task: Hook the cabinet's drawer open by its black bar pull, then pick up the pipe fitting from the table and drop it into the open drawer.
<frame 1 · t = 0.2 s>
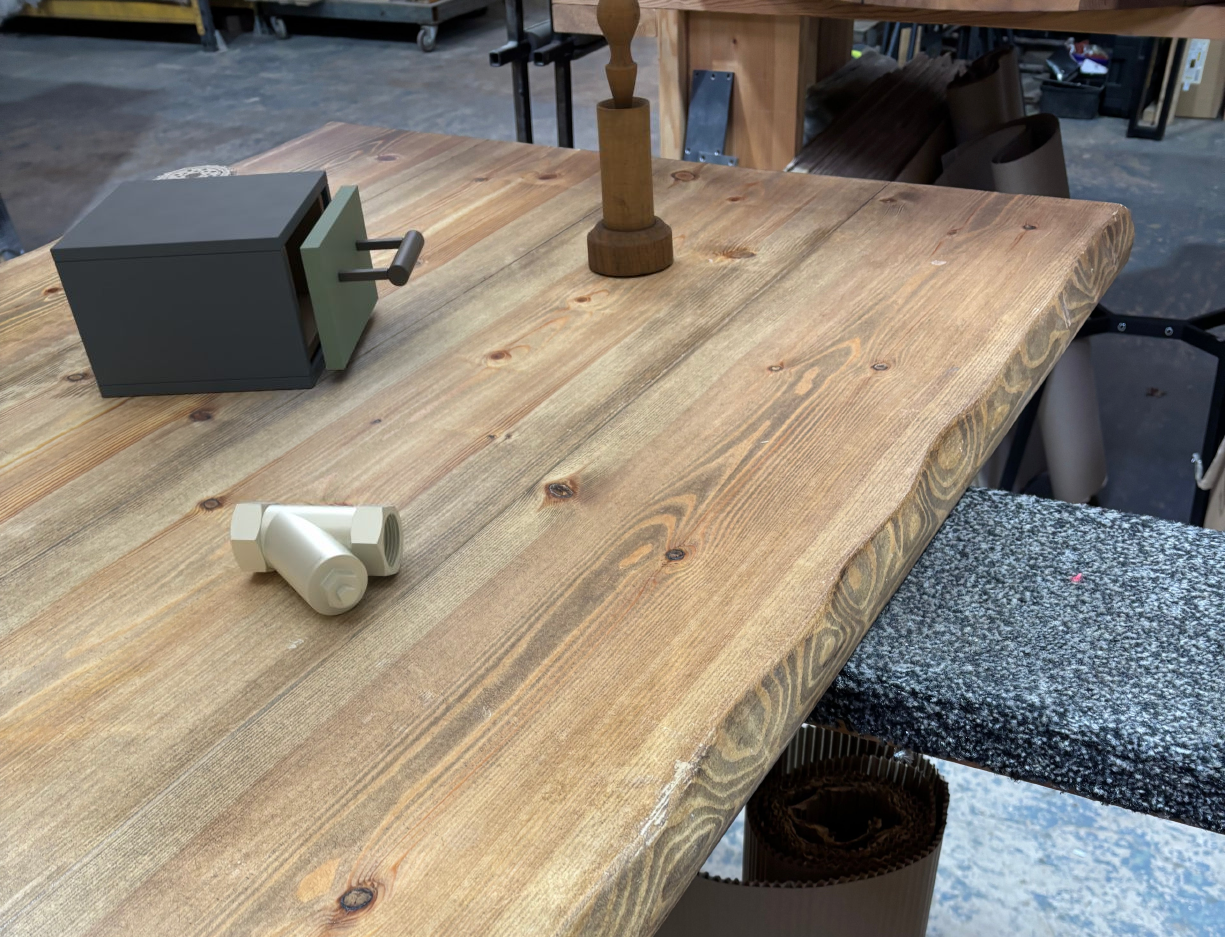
pipe fitting: (317, 591, 63), on the table
cabinet: (234, 350, 88), on the table
drawer: (288, 278, 84), point 5 cm above the table, slide at 1.0 cm
mechanical component: (208, 231, 109), on the table
mortar and pestle: (631, 265, 96), on the table
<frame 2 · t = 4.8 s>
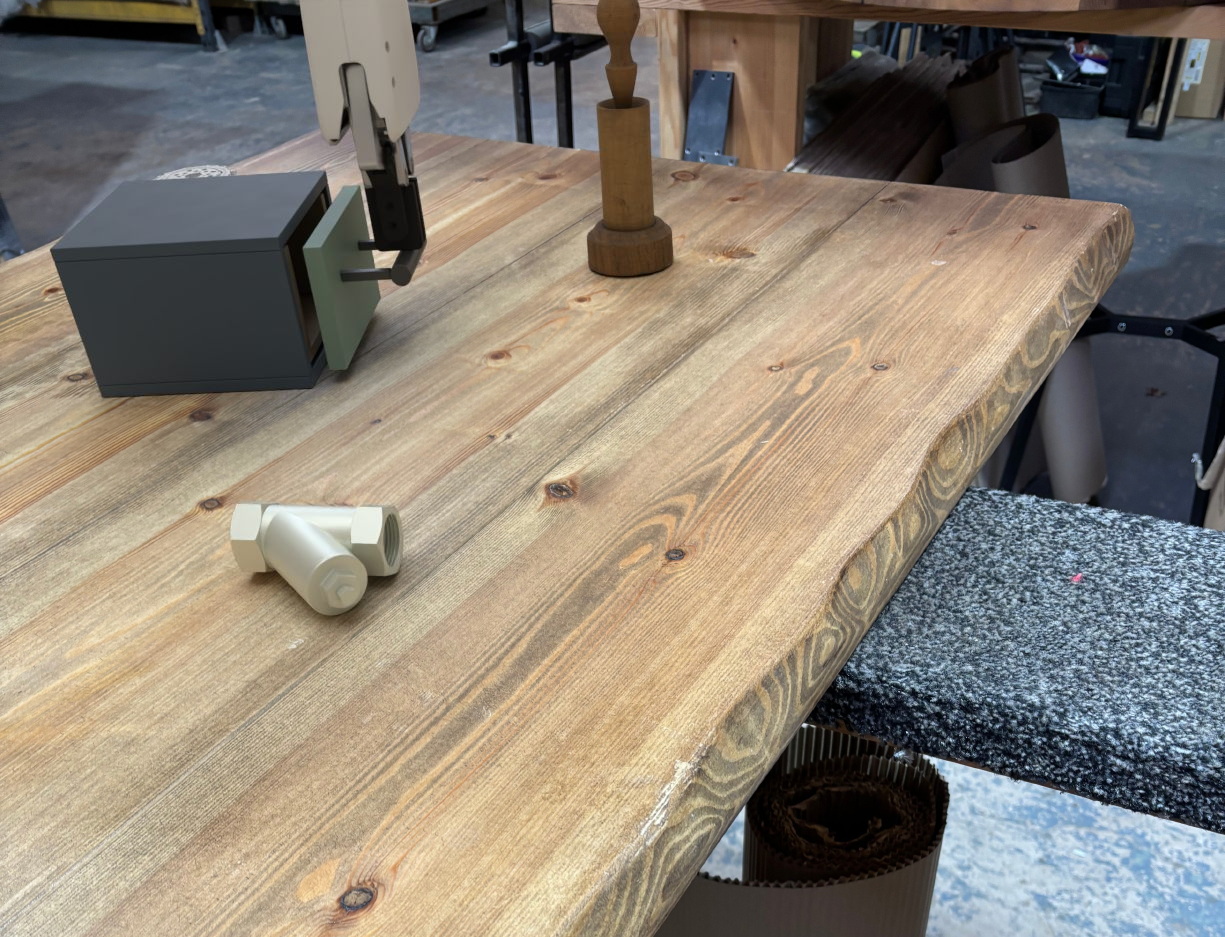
hand: (401, 245, 82), 7 cm above the table, tool pointing down, fingers closed
drawer: (290, 278, 84), point 5 cm above the table, slide at 1.2 cm, touching gripper
everything else where it was.
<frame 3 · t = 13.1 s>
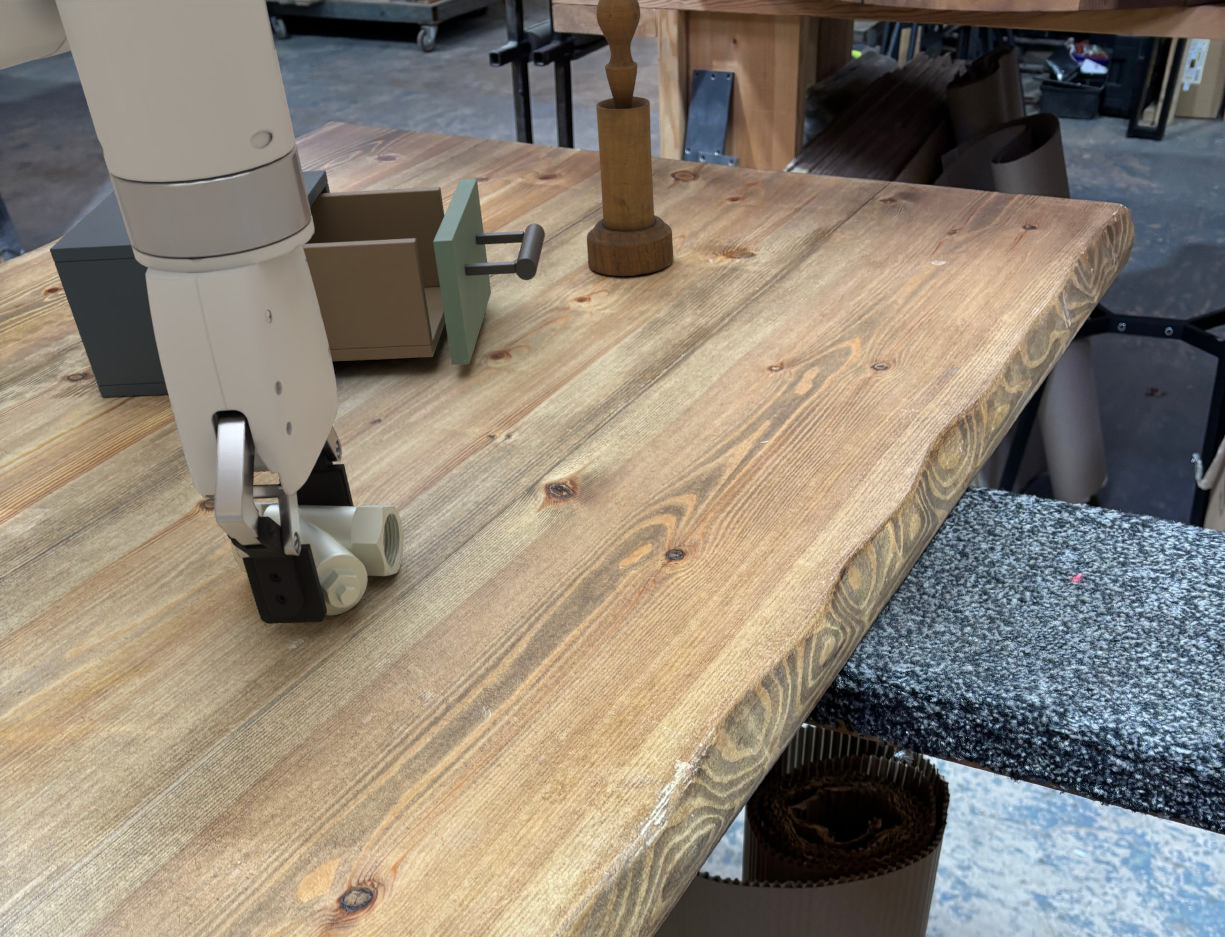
hand: (312, 574, 63), 1 cm above the table, tool pointing down, fingers closed on pipe fitting, 7 cm apart
pipe fitting: (316, 591, 63), on the table, touching gripper
drawer: (409, 272, 84), point 5 cm above the table, slide at 9.4 cm
everything else where it was.
when the fingers open (10 cm above the table, at t = 22.2 s): pipe fitting drops 5 cm, resting on drawer.
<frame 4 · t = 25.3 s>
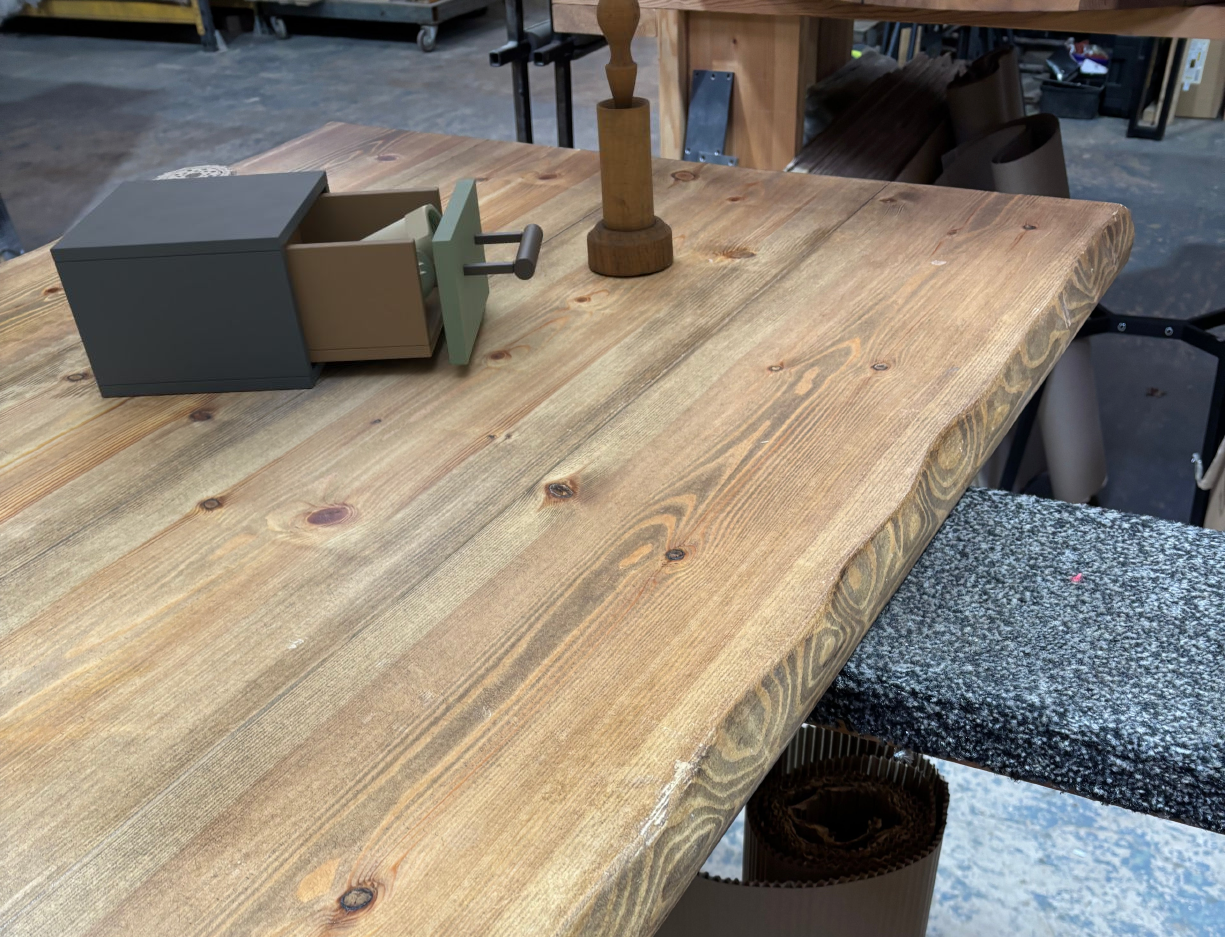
pipe fitting: (405, 295, 85), point 3 cm above the table, touching drawer
drawer: (407, 272, 84), point 5 cm above the table, slide at 9.3 cm, touching pipe fitting
everything else where it was.
at the end: drawer slide at 9.3 cm; pipe fitting inside the target area in the drawer (0.5 cm from its centre), point 3.3 cm above the cabinet's base; the gripper is holding nothing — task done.
